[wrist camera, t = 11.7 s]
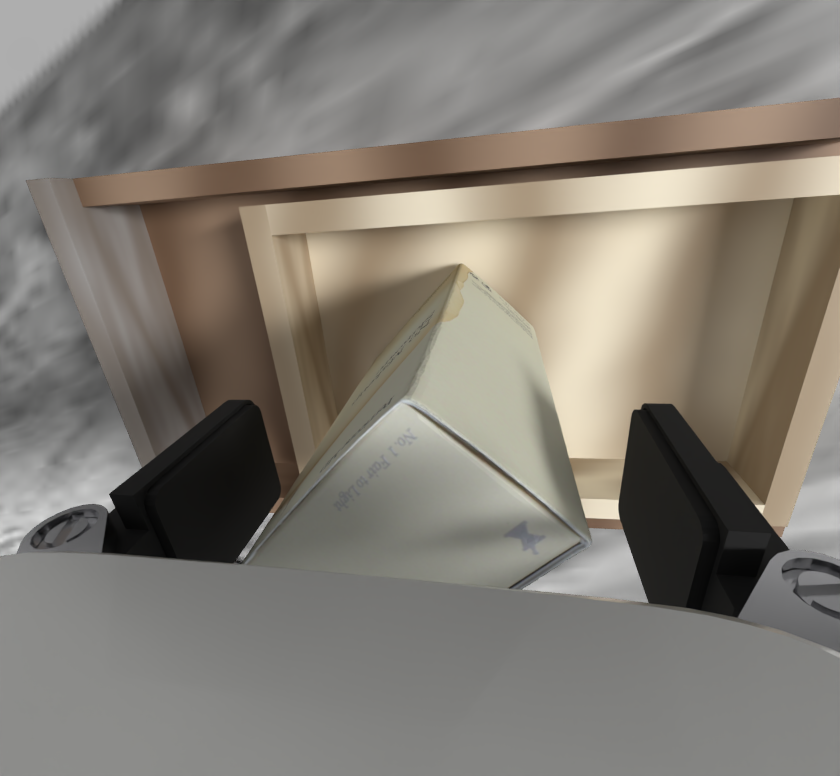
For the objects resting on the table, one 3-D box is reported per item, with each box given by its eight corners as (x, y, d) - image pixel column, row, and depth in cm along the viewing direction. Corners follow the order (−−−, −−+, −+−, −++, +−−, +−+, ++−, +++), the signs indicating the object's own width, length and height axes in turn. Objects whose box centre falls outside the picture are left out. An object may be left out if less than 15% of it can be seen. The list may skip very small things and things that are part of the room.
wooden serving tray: (832, 111, 15) (974, 79, 11) (734, 480, 22) (796, 555, 17) (129, 183, 20) (25, 180, 16) (219, 465, 27) (163, 521, 22)
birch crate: (817, 159, 15) (918, 148, 11) (735, 467, 20) (787, 526, 17) (288, 204, 18) (238, 206, 15) (334, 458, 24) (306, 505, 20)
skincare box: (461, 259, 17) (407, 372, 6) (539, 330, 18) (610, 542, 7) (370, 364, 20) (221, 573, 9) (441, 423, 21) (384, 683, 10)
